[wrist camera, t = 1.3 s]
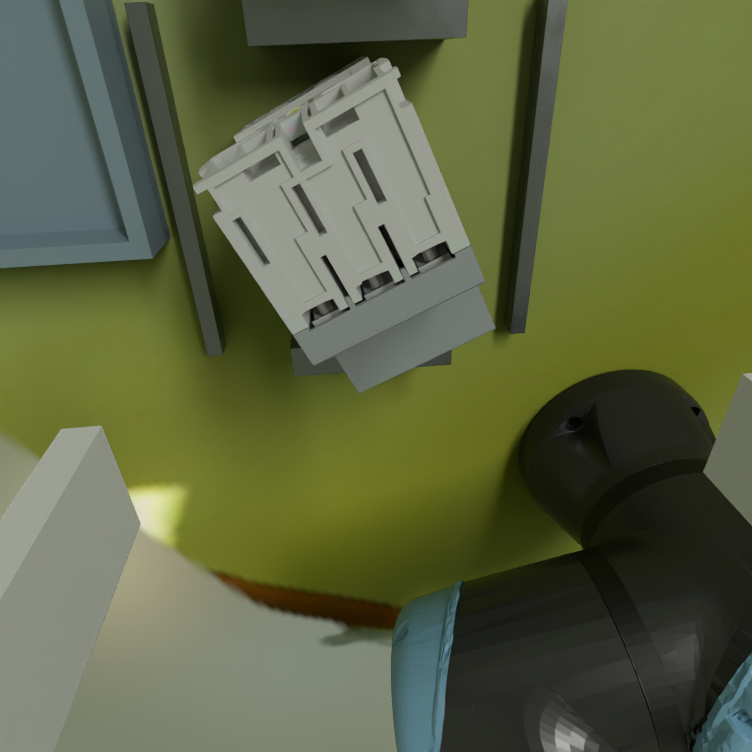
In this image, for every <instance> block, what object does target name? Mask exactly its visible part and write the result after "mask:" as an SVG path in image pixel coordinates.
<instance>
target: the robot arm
mask: <svg viewBox="0 0 752 752" xmlns="http://www.w3.org/2000/svg"><path fill="white" fill-rule="evenodd" d="M519 466H520V471H521V475H522V477H523V480H524V482H525V484H526V486H527V488H528V490H529V492H530V494H531V496H532V498H533V499H534V501H535V502H536V503H537V505H538V506H539V507H540V508H541V509H542V510H543V511H544V512H546V513H547V514H548V515H550V517H551V518H552V519H553V520H554V521H555V522H556V523H558V524H559V525H560V526H561V527H562V528H563V529H564V530H565V531H566V532H567V533H568V534H569V535H570V536H571V537H572V538H573V539H574V540H575V541H577V542H578V543H579V544H580V545H581V547H582V548H583V550H581V551H577V552H574V553H569V554H565V555H561V556H558V557H554V558H550V559H547V560H543V561H539V562H536V563H532V564H528V565H525V566H521V567H518V568H514V569H510V570H507V571H503V572H499V573H496V574H492V575H488V576H485V577H481V578H477V579H474V580H470V581H466V582H463V581H462V580H460V581H456V582H455V583H454V585H453V586H450V587H447V588H444V589H441V590H438V591H435V592H432V593H429V594H426V595H423V596H420V597H417V598H415V599H413V600H411V601H410V602H408V603H407V604H406V605H405V606H404V607H403V609H402V610H401V612H400V613H399V615H398V618H397V620H396V623H395V627H394V632H393V639H392V653H391V690H392V708H393V719H394V730H395V739H396V745H397V752H752V373H749V374H742V376H741V379H740V381H739V384H738V386H737V389H736V391H735V394H734V396H733V399H732V401H731V404H730V406H729V409H728V411H727V414H726V416H725V419H724V421H723V424H722V426H721V429H720V431H719V434H718V436H717V439H716V438H715V436H714V434H713V432H712V429H711V428H710V426H709V422H708V420H707V417H706V415H705V413H704V411H703V409H702V408H701V407H700V405H699V404H698V402H697V401H696V400H695V399H694V398H693V397H692V396H691V395H690V394H688V393H687V392H686V391H685V390H684V389H683V388H682V387H681V386H680V385H679V384H678V383H676V382H675V381H673V380H672V379H670V378H668V377H666V376H664V375H662V374H659V373H655V372H651V371H645V370H621V371H614V372H609V373H604V374H601V375H598V376H595V377H592V378H589V379H587V380H584V381H582V382H580V383H578V384H576V385H574V386H572V387H571V388H569V389H567V390H566V391H564V392H563V393H561V394H560V395H558V396H557V397H556V398H555V399H553V400H552V401H551V402H550V403H549V404H548V405H546V406H545V407H544V408H543V409H542V411H541V412H540V413H539V414H538V415H537V416H536V418H535V419H534V420H533V422H532V423H531V425H530V426H529V428H528V430H527V432H526V434H525V436H524V438H523V441H522V444H521V448H520V454H519ZM139 526H140V521H139V519H138V516H137V513H136V511H135V508H134V506H133V503H132V501H131V498H130V496H129V493H128V491H127V488H126V486H125V483H124V481H123V478H122V476H121V473H120V471H119V468H118V466H117V463H116V461H115V458H114V456H113V453H112V451H111V448H110V446H109V443H108V441H107V438H106V435H105V433H104V430H103V428H102V426H92V427H80V428H68V429H61V430H60V432H59V433H58V435H57V436H56V437H55V439H54V440H53V442H52V443H51V445H50V446H49V448H48V449H47V451H46V452H45V454H44V455H43V456H42V458H41V459H40V461H39V462H38V464H37V465H36V467H35V468H34V470H33V471H32V473H31V474H30V476H29V477H28V479H27V480H26V481H25V483H24V484H23V486H22V487H21V489H20V490H19V492H18V493H17V495H16V496H15V498H14V499H13V500H12V502H11V503H10V505H9V506H8V508H7V509H6V511H5V512H4V514H3V515H2V517H1V518H0V752H54V750H55V748H56V745H57V742H58V740H59V737H60V734H61V732H62V729H63V726H64V724H65V721H66V719H67V716H68V713H69V711H70V708H71V705H72V703H73V700H74V697H75V695H76V692H77V690H78V687H79V684H80V682H81V679H82V676H83V674H84V671H85V669H86V666H87V663H88V660H89V658H90V655H91V653H92V650H93V647H94V645H95V642H96V640H97V637H98V634H99V632H100V629H101V626H102V624H103V621H104V618H105V616H106V613H107V611H108V608H109V605H110V603H111V600H112V597H113V595H114V592H115V589H116V587H117V584H118V582H119V579H120V576H121V574H122V571H123V568H124V566H125V563H126V561H127V558H128V555H129V552H130V550H131V547H132V545H133V542H134V539H135V537H136V534H137V532H138V529H139Z"/></svg>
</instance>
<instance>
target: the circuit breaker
mask: <svg viewBox="0 0 752 752" xmlns="http://www.w3.org/2000/svg"><path fill="white" fill-rule="evenodd" d="M399 77H401V75H400V72H399V70H398V68H397V67H396V66H395V67H393V68H392V66H391V64H390V61H389V60H388V59H387V58H379V59H378V60H376V61H374V62H372V63H370V60H369V58H368V57H364V56H363V57H362V56H361V57H359V58H358V59H356V60H354V61H353V62H351V63H349V64H348V65H346V66H344V67H343V68H341V69H339V70H338V71H336V72H334V73H333V74H331V75H329V76H328V77H326V78H324V79H323V80H321V81H319V82H317V83H316V84H314V85H312V86H311V87H309V88H307V89H306V90H304V91H302V92H301V93H299V94H297V95H296V96H294V97H292V98H291V99H289V100H287V101H286V102H284V103H282V104H281V105H279V106H277V107H276V108H274V109H272V110H270V111H269V112H267V113H265V114H264V115H262V116H260V117H259V118H257V119H255V120H254V121H252V122H250V123H249V124H247V125H245V126H244V128H242V129H241V130H240V131H239V132H238V133H237V134H236V135H235V136H234V139H235V141H236V143H235V144H234V145H232V146H230V147H229V148H227V149H225V150H224V151H222V152H220V153H218V154H217V155H215V156H213V157H212V158H210V159H209V160H208V161H207V162H206V163H205V164H204V165H203V166H202V167H201V168H200V170H199V174H200V176H201V177H202V179H201V180H200V181H198V182H196V183H195V184H194V186H193V189H194V190H195V192H196V193H197V195H198V194H199V193H201V192H203V191H204V190H206V189H208V191H209V192H210V194H211V195H212V197H213V198H214V200H215V201H216V203H217V204H218V206H219V208H218V209H217V211H216V212H215V214H214V215H213V218H214V220H215V221H216V223H217V224H218V225H219V227H220V228H221V230H222V231H223V233H224V234H225V236H226V237H227V239H228V240H229V242H230V243H231V245H232V246H233V248H234V249H235V251H236V252H237V253H238V255H239V256H240V258H241V259H242V261H243V262H244V264H245V265H246V267H247V268H248V270H249V271H250V273H251V274H252V276H253V277H254V279H255V280H256V281H257V283H258V284H259V286H260V287H261V289H262V290H263V292H264V293H265V295H266V296H267V298H268V299H269V301H270V302H271V304H272V305H273V307H274V308H275V309H276V311H277V312H278V314H279V315H280V317H281V318H282V320H283V321H284V323H285V324H286V326H287V327H288V329H289V330H290V332H291V333H292V335H293V336H294V337H295V339H296V340H297V342H298V343H299V345H300V346H301V348H302V349H303V351H304V352H305V354H306V355H307V357H308V358H309V360H310V361H311V363H312V364H313V365H314V366H315V365H317V364H319V363H321V362H323V361H325V360H328V359H330V358H332V357H334V356H335V357H336V359H337V360H338V362H339V363H340V365H341V366H342V368H343V369H344V371H345V373H346V374H347V376H348V377H349V379H350V380H351V382H352V383H353V385H354V386H355V388H356V390H357V391H358V393H361V392H363V391H366V390H368V389H370V388H372V387H374V386H376V385H378V384H380V383H382V382H384V381H387V380H389V379H391V378H393V377H395V376H397V375H399V374H401V373H403V372H406V371H408V370H410V369H412V368H414V367H416V366H418V365H420V364H422V363H425V362H427V361H429V360H431V359H433V358H435V357H437V356H439V355H441V354H444V353H446V352H448V351H450V350H452V349H454V348H456V347H458V346H460V345H463V344H465V343H467V342H469V341H471V340H473V339H475V338H477V337H479V336H482V335H484V334H486V333H488V332H490V331H492V330H494V329H496V328H495V325H494V323H493V320H492V318H491V316H490V313H489V311H488V309H487V306H486V304H485V301H484V299H483V297H482V294H481V292H480V290H479V287H478V285H480V284H482V283H484V282H485V279H484V277H483V274H482V272H481V270H480V267H479V265H478V262H477V260H476V257H475V255H474V252H473V250H472V248H471V245H470V243H469V240H468V238H467V235H466V233H465V231H464V228H463V226H462V223H461V221H460V218H459V216H458V214H457V211H456V209H455V206H454V204H453V201H452V199H451V197H450V194H449V192H448V189H447V187H446V184H445V182H444V179H443V177H442V175H441V172H440V170H439V167H438V165H437V162H436V160H435V158H434V155H433V153H432V150H431V148H430V145H429V143H428V141H427V138H426V136H425V133H424V131H423V128H422V126H421V124H420V121H419V119H418V116H417V114H416V111H415V109H414V107H413V104H412V103H411V102H409V101H407V100H405V97H404V95H403V93H402V90H401V88H400V85H399V83H398V80H397V79H398V78H399Z"/></svg>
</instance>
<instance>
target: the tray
mask: <svg viewBox="0 0 752 752" xmlns="http://www.w3.org/2000/svg"><path fill="white" fill-rule="evenodd" d="M169 238H170V234H169V229H168V225H167V221H166V217H165V213H164V209H163V205H162V201H161V197H160V193H159V189H158V185H157V181H156V177H155V173H154V169H153V165H152V161H151V157H150V153H149V149H148V144H147V140H146V136H145V132H144V128H143V124H142V120H141V116H140V112H139V108H138V104H137V100H136V96H135V92H134V88H133V84H132V80H131V76H130V72H129V68H128V64H127V59H126V55H125V51H124V47H123V43H122V39H121V35H120V31H119V27H118V23H117V19H116V15H115V11H114V7H113V3H112V0H0V268H11V267H27V266H43V265H59V264H75V263H91V262H107V261H123V260H138V259H153V258H154V257H155V255H156V254H157V253H158V252H159V250H160V249H161V248H162V247H163V246H164V244H165V243H166V242H167V241H168V240H169Z"/></svg>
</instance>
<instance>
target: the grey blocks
mask: <svg viewBox="0 0 752 752" xmlns="http://www.w3.org/2000/svg"><path fill="white" fill-rule="evenodd" d="M567 2H568V0H539V1H538V10H537V20H536V29H535V39H534V48H533V58H532V67H531V77H530V86H529V95H528V105H527V114H526V124H525V133H524V143H523V152H522V162H521V171H520V181H519V190H518V200H517V209H516V219H515V228H514V237H513V247H512V256H511V266H510V275H509V285H508V294H507V304H506V313H505V323H504V325H505V326H506V328H507V329H508V331H509V332H510V334H516V333H525V326H526V318H527V310H528V303H529V295H530V287H531V279H532V272H533V264H534V256H535V249H536V241H537V233H538V226H539V218H540V210H541V202H542V195H543V187H544V179H545V172H546V164H547V156H548V148H549V141H550V133H551V125H552V118H553V110H554V102H555V94H556V87H557V79H558V71H559V64H560V56H561V48H562V41H563V33H564V25H565V17H566V10H567ZM124 5H125V9H126V13H127V18H128V22H129V26H130V30H131V34H132V39H133V43H134V47H135V51H136V55H137V60H138V64H139V68H140V72H141V76H142V81H143V85H144V89H145V93H146V98H147V102H148V106H149V110H150V114H151V119H152V123H153V127H154V131H155V135H156V140H157V144H158V148H159V152H160V156H161V161H162V165H163V169H164V173H165V177H166V182H167V186H168V190H169V194H170V199H171V203H172V207H173V211H174V215H175V220H176V224H177V228H178V232H179V236H180V241H181V245H182V249H183V253H184V257H185V262H186V266H187V270H188V274H189V279H190V283H191V287H192V291H193V295H194V300H195V304H196V308H197V312H198V316H199V321H200V325H201V329H202V333H203V337H204V342H205V346H206V350H207V354H208V356H218V355H223V353H224V350H225V347H226V341H225V337H224V332H223V327H222V322H221V318H220V313H219V308H218V304H217V299H216V294H215V290H214V285H213V280H212V276H211V271H210V266H209V262H208V257H207V252H206V247H205V243H204V238H203V233H202V229H201V224H200V219H199V215H198V210H197V205H196V201H195V196H194V191H193V186H192V182H191V177H190V172H189V168H188V163H187V158H186V154H185V149H184V144H183V140H182V135H181V130H180V126H179V121H178V116H177V111H176V107H175V102H174V97H173V93H172V88H171V83H170V79H169V74H168V69H167V65H166V60H165V55H164V51H163V46H162V41H161V36H160V32H159V27H158V22H157V18H156V13H155V8H154V4H150V3H147V2H133V3H124ZM242 6H243V14H244V21H245V28H246V35H247V42H248V46H253V47H274V46H299V45H323V44H348V43H372V42H397V41H421V40H445V39H454V38H463V37H466V36H467V15H468V0H242ZM290 350H291V357H292V364H293V371H294V376H307V375H320V374H333V373H345V371H344V369H343V368H342V366H341V365H340V363H339V362H338V360H337V359H336V357H335V356H334V357H332V358H330V359H328V360H325V361H323V362H321V363H319V364H317V365H315V366H314V365H313V364H312V363H311V361H310V360H309V358H308V357H307V355H306V354H305V352H304V351H303V349H302V348H301V346H300V345H299V343H298V342H297V340H296V339H295V337H294V336H293V335H292V338H291V347H290ZM451 352H452V350H450V351H448V352H446V353H444V354H441V355H439V356H437V357H435V358H433V359H431V360H429V361H427V362H425V363H422V364H420V365H418V366H416V367H425V366H438V365H451Z"/></svg>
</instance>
